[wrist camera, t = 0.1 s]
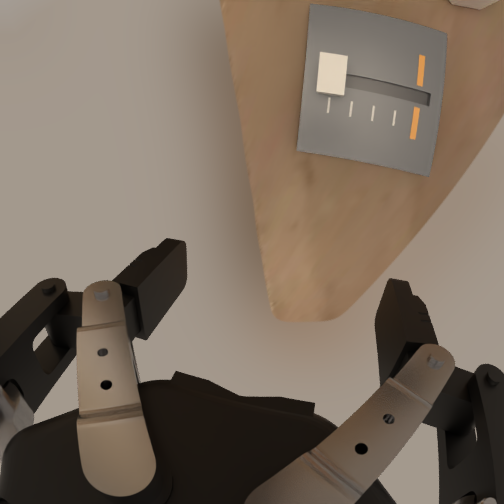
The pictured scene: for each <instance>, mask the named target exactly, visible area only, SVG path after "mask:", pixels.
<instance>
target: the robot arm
mask: <svg viewBox="0 0 504 504" xmlns="http://www.w3.org/2000/svg"><path fill="white" fill-rule="evenodd" d="M186 280H187V253H186V243H185V242H184V241H181V240H175V239H170V238H166V239H165V240H164V241H163V242H161V243H160V244H159V246H157V247H156V248H151V249H149V250H147V251H145V252H143V253H141V254H140V255H139V256H138V257H137V258H136V260H134V261H133V262H132V263H130V266H129V265H128V266H127V267H126V268H125V269H124V270H123V271H122V272H121V273H120V274H119V275H118V276H117V277H116V278H114V279H113V280H112V281H108V280H104V281H98V282H95V283H92V284H91V285H89V286H88V287H87V288H86V289H85V290H84V292H69V291H67V287H66V283H65V281H64V280H62V279H59V278H50V279H46V280H43V281H41V282H39V283H38V284H37V285H36V286H35V287H33V288H32V289H31V290H30V291H29V292H28V293H27V294H26V295H25V296H23V297H22V298H21V299H20V300H19V301H18V302H17V303H16V304H15V305H14V306H13V307H12V308H11V309H10V310H9V311H7V312H6V313H5V314H4V315H3V316H2V317H1V318H0V463H2V465H1V475H0V504H396V502H395V501H394V500H393V499H392V497H391V496H390V494H389V493H388V492H387V490H386V489H385V488H384V487H383V485H382V484H381V482H380V481H379V480H378V477H379V476H380V475H381V473H382V472H383V471H384V470H385V469H386V468H387V466H388V465H389V464H390V463H391V462H392V460H393V459H394V458H395V457H396V456H397V454H398V453H399V452H400V451H401V449H402V448H403V447H404V445H405V444H406V443H407V442H408V440H409V439H410V438H411V436H412V435H413V433H414V432H415V431H416V429H417V428H418V427H419V425H420V424H421V423H425V424H427V425H430V426H433V427H436V428H437V438H438V453H439V504H504V374H503V372H502V371H501V370H499V369H498V368H497V367H495V366H493V365H490V364H483V365H480V366H479V367H478V368H477V369H476V371H475V372H474V373H471V372H468V371H466V370H463V369H460V368H458V367H455V361H454V358H453V356H452V355H451V354H450V352H449V351H447V350H446V349H445V348H443V347H441V346H439V345H438V341H437V338H436V335H435V332H434V328H433V325H432V323H431V320H430V317H429V315H428V311H427V308H426V305H425V304H424V302H423V301H422V300H421V299H420V298H419V297H418V296H415V295H413V294H412V291H411V288H410V285H409V282H408V281H402V280H397V279H392V278H390V279H389V280H388V281H387V284H386V287H385V290H384V293H383V296H382V298H381V301H380V304H379V307H378V310H377V313H376V318H375V332H376V343H377V352H378V363H379V376H380V388H379V389H378V390H377V391H376V392H375V393H374V394H373V395H372V396H371V397H370V398H369V399H368V400H367V401H366V402H365V403H364V404H363V405H362V406H361V407H360V408H359V409H358V410H357V411H356V412H355V413H354V414H353V415H352V416H350V417H349V418H348V419H347V420H346V421H345V422H344V423H343V424H342V425H341V426H340V427H337V426H336V425H334V424H333V423H332V422H330V421H328V420H327V419H325V418H323V417H321V416H319V415H317V414H315V413H314V407H315V403H312V402H306V401H300V400H294V399H289V398H284V397H245V396H239V395H237V394H235V393H233V392H231V391H229V390H227V389H225V388H223V387H221V386H219V385H217V384H215V383H213V382H211V381H209V380H206V379H202V378H199V377H195V376H191V375H188V374H184V373H181V372H178V371H176V372H175V373H174V375H173V377H172V379H171V380H153V381H147V382H143V383H141V381H140V377H139V373H138V368H137V363H136V359H135V354H134V349H133V344H132V341H133V339H134V338H135V337H137V338H141V339H143V340H147V339H148V338H149V336H150V335H151V333H152V332H153V331H154V329H155V328H156V326H157V325H158V324H159V322H160V321H161V319H162V318H163V317H164V315H165V314H166V313H167V311H168V310H169V308H170V307H171V306H172V304H173V303H174V301H175V300H176V299H177V297H178V296H179V295H180V293H181V292H182V290H183V289H184V287H185V285H186ZM44 327H45V328H46V331H47V333H48V336H47V337H46V339H45V340H44V341H43V342H42V343H41V344H40V345H39V347H38V348H37V349H36V350H35V351H33V341H34V339H35V337H36V336H37V335H38V333H39V332H40V331H41V330H42V329H43V328H44ZM76 355H77V383H78V401H79V408H78V409H75V410H73V411H70V412H67V413H64V414H62V415H59V416H56V417H54V418H51V419H48V420H45V421H42V422H40V423H37V424H34V425H33V422H34V413H35V412H36V410H37V409H38V407H39V406H40V404H41V403H42V402H43V400H44V399H45V397H46V396H47V394H48V393H49V392H50V390H51V389H52V387H53V386H54V384H55V383H56V382H57V381H58V379H59V378H60V376H61V375H62V374H63V372H64V371H65V370H66V368H67V367H68V366H69V364H70V363H71V361H72V360H73V359H74V358H75V356H76ZM475 427H476V431H477V441H476V434H475Z"/></svg>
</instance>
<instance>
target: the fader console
mask: <svg viewBox="0 0 504 504" xmlns="http://www.w3.org/2000/svg"><path fill="white" fill-rule="evenodd" d="M446 50H447V33H444V32H441V31H438V30H435V29H432V28H429V27H426V26H422V25H419V24H416V23H412V22H408V21H405V20H401V19H397V18H393V17H389V16H384V15H380V14H375V13H370V12H365V11H360V10H354V9H348V8H342V7H335V6H327V5H318V4H310V12H309V26H308V38H307V50H306V62H305V73H304V84H303V94H302V104H301V114H300V123H299V133H298V142H297V151H301V152H308V153H314V154H321V155H327V156H333V157H338V158H344V159H349V160H355V161H360V162H365V163H370V164H375V165H380V166H384V167H389V168H393V169H398V170H402V171H407V172H411V173H415V174H419V175H423V176H427V177H429V175H430V170H431V166H432V161H433V155H434V150H435V145H436V139H437V133H438V127H439V120H440V113H441V106H442V97H443V88H444V78H445V66H446ZM320 52H325V53H332V54H339V55H345V56H348V60H347V71H346V81H345V91H344V96H342V97H340V96H334V95H327V94H320V93H317V91H316V89H317V79H318V69H319V57H320Z"/></svg>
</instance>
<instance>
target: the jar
mask: <svg viewBox="0 0 504 504" xmlns="http://www.w3.org/2000/svg"><path fill="white" fill-rule="evenodd" d="M449 1H450V3H451V4H452V5H457V6H463V7H469V8H474V9H479V10H481V9H483V8H485V7H487V6H489V5H491V4H493V3H495V2H497V1H499V0H449Z"/></svg>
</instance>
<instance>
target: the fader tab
mask: <svg viewBox="0 0 504 504" xmlns="http://www.w3.org/2000/svg"><path fill="white" fill-rule="evenodd" d="M347 60H348V56H345V55H339V54H332V53H325V52H320V57H319V69H318V79H317V89H316V91H317V93H320V94H327V95H334V96H340V97H342V96H344V91H345V81H346V71H347Z"/></svg>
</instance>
